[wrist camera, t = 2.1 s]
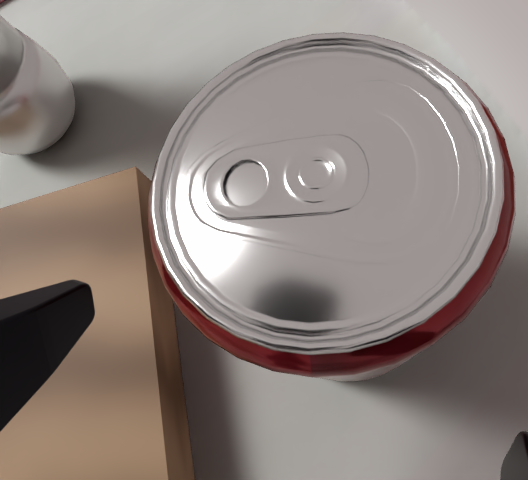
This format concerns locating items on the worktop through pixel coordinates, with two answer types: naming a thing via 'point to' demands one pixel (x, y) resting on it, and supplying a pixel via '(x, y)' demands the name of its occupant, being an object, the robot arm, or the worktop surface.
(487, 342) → the worktop surface
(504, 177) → the soda can
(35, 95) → the plastic bottle
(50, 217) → the walnut base board
